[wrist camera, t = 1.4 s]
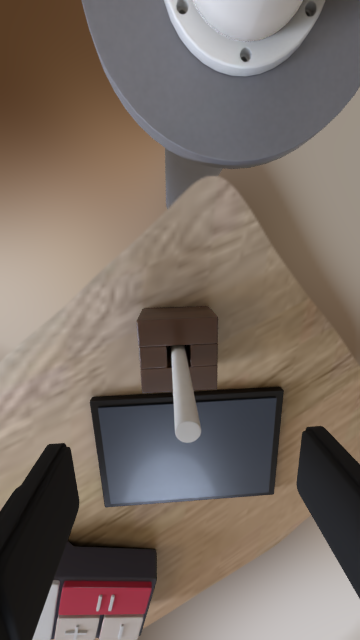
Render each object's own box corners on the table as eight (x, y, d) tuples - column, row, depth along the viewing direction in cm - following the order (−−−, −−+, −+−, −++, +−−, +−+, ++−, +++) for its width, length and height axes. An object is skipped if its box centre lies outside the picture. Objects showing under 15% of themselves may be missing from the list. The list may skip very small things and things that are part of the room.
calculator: (140, 647, 29) (9, 651, 27) (141, 598, 33) (29, 598, 31) (157, 587, 27) (15, 586, 24) (157, 543, 31) (35, 538, 28)
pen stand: (142, 308, 22) (136, 320, 18) (208, 305, 22) (218, 317, 18) (146, 368, 24) (142, 393, 19) (208, 365, 24) (217, 389, 20)
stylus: (170, 332, 23) (174, 421, 10) (182, 332, 23) (201, 420, 10) (170, 344, 23) (175, 444, 11) (182, 343, 23) (201, 442, 11)
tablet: (91, 396, 24) (88, 402, 23) (280, 386, 25) (284, 391, 24) (106, 500, 28) (104, 509, 27) (271, 488, 29) (274, 496, 28)
